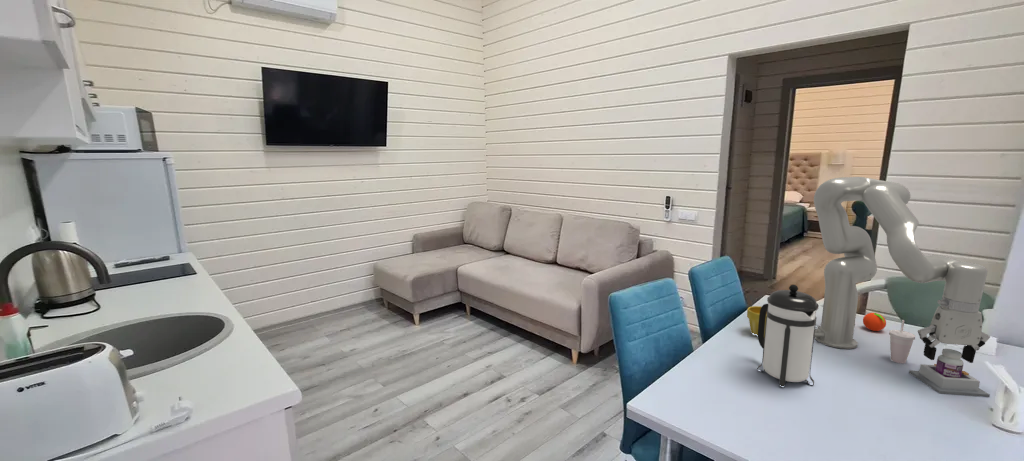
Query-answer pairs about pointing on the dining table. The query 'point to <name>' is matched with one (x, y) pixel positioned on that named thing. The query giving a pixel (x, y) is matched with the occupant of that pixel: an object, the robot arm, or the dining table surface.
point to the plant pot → (754, 318)
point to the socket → (949, 382)
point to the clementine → (874, 321)
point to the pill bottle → (950, 363)
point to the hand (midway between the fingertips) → (947, 359)
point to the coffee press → (788, 334)
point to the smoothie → (900, 344)
